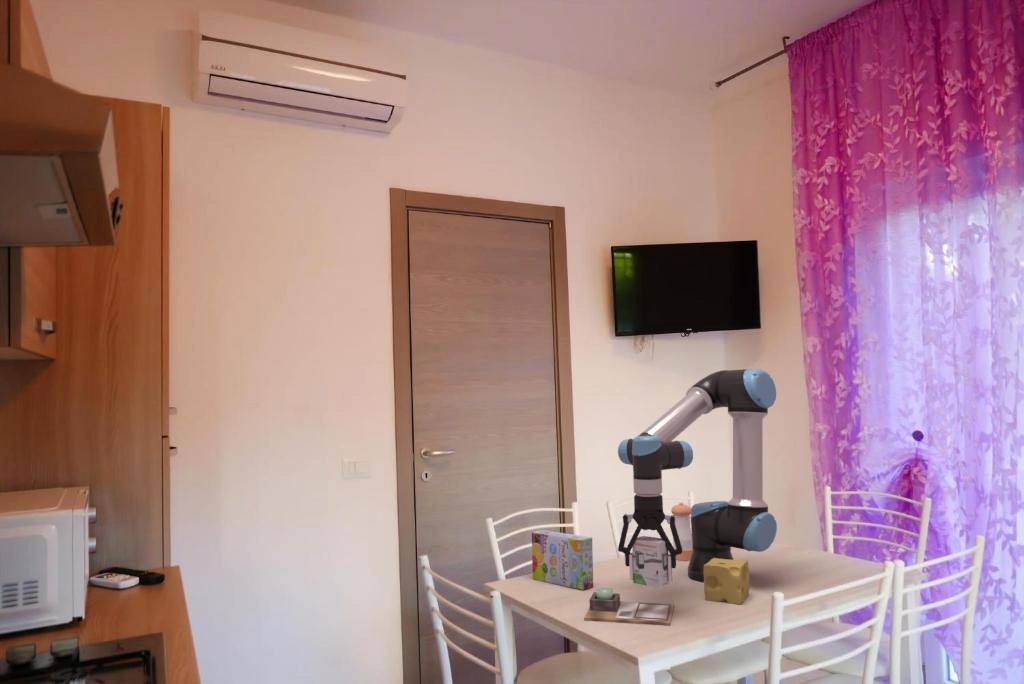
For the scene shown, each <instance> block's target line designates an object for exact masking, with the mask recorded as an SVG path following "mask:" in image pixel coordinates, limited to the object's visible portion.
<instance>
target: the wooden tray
mask: <svg viewBox="0 0 1024 684" xmlns="http://www.w3.org/2000/svg"><path fill="white" fill-rule="evenodd" d="M620 594H621V593H614V592H613V600H604V599H597V592H593V593H592V595H591V596H590V598H589V601H588V603H589V608H588V610H587V612H586V613H585V615H584V617H583V620H584V621H590V622H591V621H593V622H608V623H622V624H623V623H627V624H639V625H640V624H642V625H656V626H657V625H658V626H659V625H660V626H671V624H672V618H673V613H674V607H675V604H674V603H659V602H657V603H656V602H655V603H654V602H640V601H639V602H638V601H621V595H620Z"/></svg>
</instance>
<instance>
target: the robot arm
mask: <svg viewBox="0 0 1024 684" xmlns="http://www.w3.org/2000/svg"><path fill="white" fill-rule="evenodd" d="M776 398H777V388H776V385H775V381H774V379H773V378H772V377H771V375H770V374H769V373H768V372H767V371H765V370H762V369H759V368H758V369H757V368H756V369H755V368H746V369H744V368H743V369H730V370H728V369H725V370H723V369H722V370H719V371H715V372H712V373H711V374H708V375H707V376H705V377H703V378H701V379H700V380H698V381H697V382H696V383H695V384H693V385H692V386H691V387H690V388H688V389H687V391H686V394H685V396H684V397H683V398H681V400H679V401H678V402H677V403H675V404H674V406H672V407H671V408H670V409H669V410H668V411H666V412H665V413H664V414H663V415H661V416H660V417H659V418H657V420H656V421H654V422H653V423H652V424H651V425H650V426H648V427H647V428H646V429H644V431H642V432H641V433H640V434H639V435H637V436H635V437H634V438H626V439H623V440H622V441H621V442H620V443H619V445H618V448H617V455H618V458H619V460H620V461H621V462H622V463H623V464H625V465H630V466H632V473H633V476H632V479H633V480H632V481H633V493H634V494H635V495H634V496H633V506H634V511H633V513H632V514H631V513H630V514H628V513H624V514H623V516H622V522H623V523H622V524H623V525H622V529H621V534H620V539H619V542H618V543H619V544H618V547H617V551H618V552H620V553H623V554H624V557H625V558H624V561H625V562H624V563H625V567H629V580H630V581H633V552H631V550H633V545H634V543H635V541H636V539H637V538H638V537H639V534H640V533H641V532H642V530H643V531H648V530H649V531H656V532H657V534H658V535H659V536H660V537H659V538H661V539H662V540H663V541H665V546H666V547H667V549H668V574H669V583H672V582H673V569H676V567H677V560H676V555H678V554H681V553H682V546H681V543H680V539H679V536H678V533H677V529H676V526H675V516H674V514H672V515H669V514H666V515H665V513H664V502H663V501H664V500H663V499H664V498H663V495H662V493H663V477H662V475H663V474H662V472H663V471H666V470H675V469H679V470H680V469H683V468H686V467H688V466H690V465H691V464H692V462H693V460H694V452H693V449H692V446H691V444H689V442H687V441H685V440H676V438H677V437H678V436H679V435H680V434H681V433H683V432H684V431H685V430H686V429H687V428H689V426H691V425H692V424H693V423H694V422H695V421H697V419H699V418H700V417H701V416H702V415H707V414H709V413H711V412H712V411H713V410H716V409H718V408H719V409H720V408H727V413H728V415H729V416H731V418H732V498H731V499H729V501H725V500H720V501H717V500H716V501H705V502H704V501H703V502H698V503H695V504H693V505H692V507H690V508H691V514H690V528H691V533H692V547H693V551H692V555H691V559H690V560H689V563H688V566H687V577H688V578H689V579H691V580H694V581H698V582H703V583H704V573H703V571H704V565H705V564H706V563H708V562H709V561H710V560H711V559H713V558H718V559H728V560H735V559H734V557H733V555H732V552H731V551H732V550H731V549H732V548H734V549H735V548H736V549H740V550H745V551H748V552H757V553H761V552H764V551H767V550H768V549H769V548H770V547H771V545H772V544H773V543H774V541H775V539H776V536H777V529H778V527H777V521H776V519H775V516H774V515H773V514H772V513H770V512H769V505H768V504H767V503H766V501H764V499H763V497H764V496H763V495H764V494H763V493H764V491H763V490H764V489H763V483H764V482H763V481H764V480H763V477H764V475H763V470H764V469H763V462H764V461H763V456H764V455H763V420H764V418H766V416H767V415H768V413H769V412H768V411H769V410H768V409H769V408H771V407H772V406H774V404H775V401H776V400H777V399H776ZM673 440H674V441H673ZM632 519H633V520H634V521H635V523H636V524H637V526H636V529H635V531H634V532H633V535H632V536H631V539H630V540H629V543H628V545H627V547H626V546H625V544H626V540H627V534H628V530H629V526H630V525H629V524H630V523H631V522H632ZM664 521H666V523H667V524H668V525H669V528H670V532H671V535H672V540H673V539H674V542H675V545H676V549H674V548H673V547H674V546H673V543H671V541H670V539H669V537H668V535H667V534H666V531H664V528H663V526H662V524H663V522H664Z"/></svg>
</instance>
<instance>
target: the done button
mask: <svg viewBox="0 0 1024 684" xmlns="http://www.w3.org/2000/svg"><path fill="white" fill-rule="evenodd" d="M613 591H614V589H612V588H610V587H599V588H597V589H596V592H597V599H604V600H613V593H614V592H613Z"/></svg>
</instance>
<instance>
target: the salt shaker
mask: <svg viewBox="0 0 1024 684" xmlns="http://www.w3.org/2000/svg"><path fill="white" fill-rule="evenodd" d="M691 508H692V507H690V506H689V505H687V504H684V503H683V502H679V503H678V504H675V505H673V506H672V507H671V511H670V513H672V515H674V516H675V526H676V529H677V533H678V536H679V539H680V543H681V546H682V553H681V554H678V555H676V561H681V560H689V561H690V559H691V555H692V551H693V547H692V530H691ZM672 542H673V543H672V546H673V548H674V549H676V545H675V542H674V539H673V538H672Z"/></svg>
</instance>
